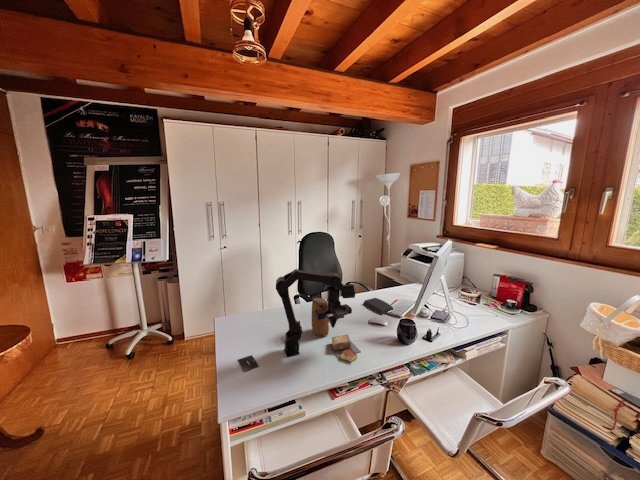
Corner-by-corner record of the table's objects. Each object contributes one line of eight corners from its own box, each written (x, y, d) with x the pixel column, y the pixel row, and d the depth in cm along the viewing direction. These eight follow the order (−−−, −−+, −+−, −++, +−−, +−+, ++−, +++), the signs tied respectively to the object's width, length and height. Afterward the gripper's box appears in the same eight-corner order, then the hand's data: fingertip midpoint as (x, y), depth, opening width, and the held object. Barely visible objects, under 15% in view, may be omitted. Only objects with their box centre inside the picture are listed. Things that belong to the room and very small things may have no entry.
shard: (347, 346, 137) (347, 343, 136) (361, 351, 133) (361, 347, 133) (339, 358, 127) (339, 355, 127) (354, 363, 124) (354, 360, 123)
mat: (338, 358, 128) (338, 357, 128) (327, 345, 139) (327, 344, 139) (360, 352, 133) (360, 351, 133) (348, 339, 144) (348, 339, 144)
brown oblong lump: (310, 330, 153) (310, 298, 150) (321, 327, 157) (322, 295, 153) (319, 339, 144) (319, 305, 140) (331, 335, 148) (331, 302, 144)
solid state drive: (251, 356, 129) (251, 354, 129) (259, 367, 121) (259, 366, 121) (237, 360, 126) (237, 359, 125) (244, 373, 117) (244, 371, 117)
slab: (332, 344, 132) (350, 341, 132) (331, 337, 140) (348, 334, 140) (333, 350, 132) (351, 347, 132) (332, 342, 140) (349, 339, 140)
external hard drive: (375, 301, 195) (376, 296, 195) (395, 311, 179) (395, 306, 178) (362, 305, 189) (362, 299, 188) (380, 316, 173) (381, 310, 172)
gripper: (323, 308, 119) (322, 339, 122) (358, 301, 126) (357, 331, 129) (313, 298, 129) (313, 328, 132) (346, 293, 136) (345, 321, 139)
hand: (332, 327), depth 132 cm, fingers closed
